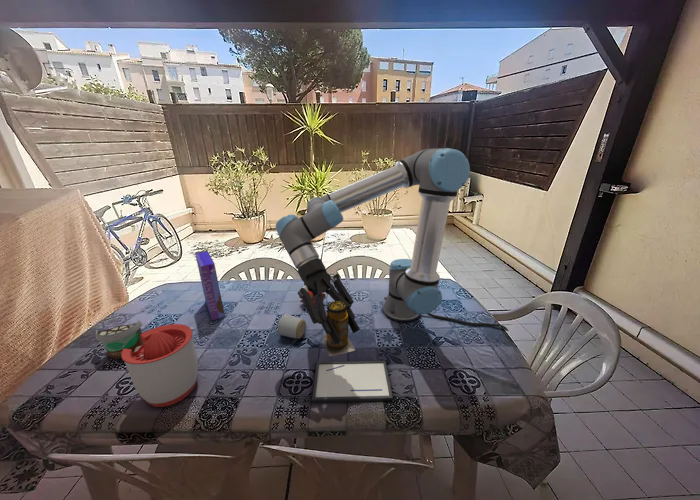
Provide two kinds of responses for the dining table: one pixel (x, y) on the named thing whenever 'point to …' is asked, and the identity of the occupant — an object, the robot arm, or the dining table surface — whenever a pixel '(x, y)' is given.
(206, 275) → the cereal box
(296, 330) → the ceramic mug
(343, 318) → the condiment
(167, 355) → the citrus juicer
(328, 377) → the whiteboard
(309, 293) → the dragon fruit
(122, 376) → the dining table surface
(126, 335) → the food container
